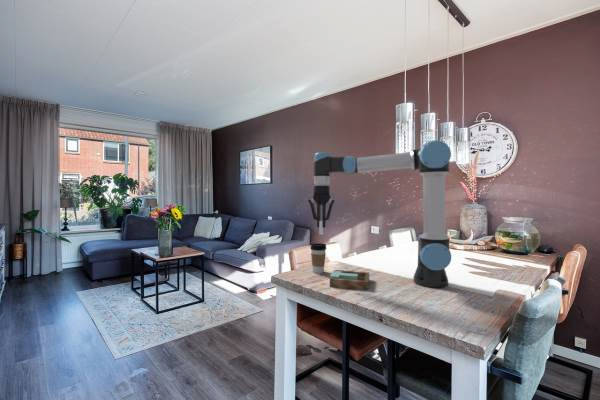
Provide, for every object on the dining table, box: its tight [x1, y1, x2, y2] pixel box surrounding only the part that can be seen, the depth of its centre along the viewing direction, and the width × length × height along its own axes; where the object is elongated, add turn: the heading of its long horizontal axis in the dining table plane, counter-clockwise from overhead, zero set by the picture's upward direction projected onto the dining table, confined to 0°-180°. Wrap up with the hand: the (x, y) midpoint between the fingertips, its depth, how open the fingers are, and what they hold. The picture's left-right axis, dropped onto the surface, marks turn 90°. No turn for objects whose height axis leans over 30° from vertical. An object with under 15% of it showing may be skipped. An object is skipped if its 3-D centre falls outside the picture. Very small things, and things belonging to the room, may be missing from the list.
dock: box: [329, 269, 370, 291], centre depth 143 cm, size 17×16×4 cm
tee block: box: [329, 270, 358, 280], centre depth 144 cm, size 12×10×4 cm
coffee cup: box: [310, 242, 327, 275], centre depth 161 cm, size 8×8×15 cm
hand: (321, 234), depth 146 cm, fingers closed
